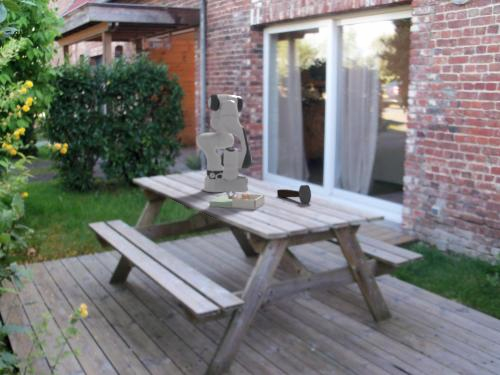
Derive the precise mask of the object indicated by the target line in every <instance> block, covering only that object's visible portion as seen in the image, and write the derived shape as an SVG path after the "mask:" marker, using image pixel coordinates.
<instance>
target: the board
mask: <svg viewBox="0 0 500 375" xmlns="http://www.w3.org/2000/svg"><path fill="white" fill-rule="evenodd" d="M238 197H239V196H238ZM239 198H240V199H242V196H240V197H239ZM209 207H214V208H227V209H229V208H230V209H233V208H232V199H228V195H227V196H226V195H220V196H217V197H216V198H213V199H211V200H209Z"/></svg>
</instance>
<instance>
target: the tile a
mask: <svg viewBox="0 0 500 375" xmlns="http://www.w3.org/2000/svg"><path fill="white" fill-rule="evenodd" d="M243 194H244V195H242V194H241V197H242V199H248V200H249V194H250V193H243Z"/></svg>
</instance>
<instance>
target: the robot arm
mask: <svg viewBox="0 0 500 375" xmlns="http://www.w3.org/2000/svg"><path fill="white" fill-rule="evenodd" d="M207 106H208V109H209V110H210V111H211V114H210V115H211V116H210V126H211V128H212V129H213V130H215V132H203V133H200V134H198V135H197V136H196V139H195V140H196V145H197V147H198V148H199V149H200V150H202V151H203V153H204V155H205V157H206V171H205V173H206V176H204V181H203V182H204V185H203V188H202V191H204V192H207V193H208V192H209V193H223V192H226V195H227V196H228V199H233V198H234V197H235V195H236V193H247V192H248V191H249V185H248V183H249V178H248V177H247V176H241V175H239V169H249V168H250V167H252V163H253V157H252V155H251V150H250V147H249V146H250V145H249V142H248V137H247V133H246V128H245V127H244V126H243V125H242V124H241V123H240V119H239V113H240V112H241V111H242V110H243V108H244V100H243V97H241V96H240V95H233V94H226V93H225V94H223V93H221V94H219V93H218V94H217V93H214V94H210V95H209V98H208V101H207ZM235 137H237V138H238V139H239V140H240V146H241V149H242V151H238V150H239V149H238V148H236V147H233V146H234V143H235ZM221 149H223V150H224V151H223V153H222V154H219V153H217V150H221ZM230 192H232V193H231V194H232V195H231V194H230Z"/></svg>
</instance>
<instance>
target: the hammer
mask: <svg viewBox="0 0 500 375" xmlns="http://www.w3.org/2000/svg"><path fill="white" fill-rule="evenodd" d="M276 194H277V197H279V198H284V199H285V198H298V199H299V201H300V203H301V204H303V205H309V203H311V199H312V191H311V188H310V185H308V184H303V185H300V186H299V188H298V190H294V189H293V190H292V189H288V188H287V189H283V188H282V189H277V192H276Z"/></svg>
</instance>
